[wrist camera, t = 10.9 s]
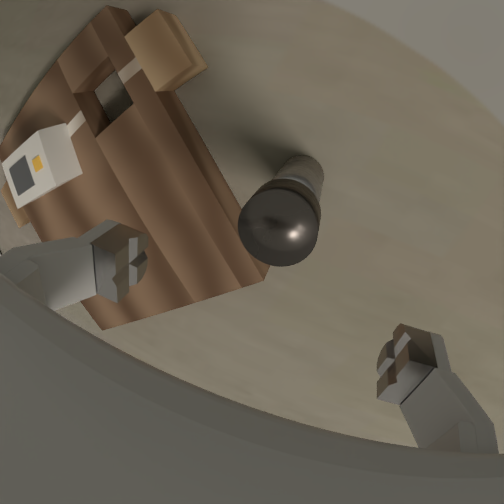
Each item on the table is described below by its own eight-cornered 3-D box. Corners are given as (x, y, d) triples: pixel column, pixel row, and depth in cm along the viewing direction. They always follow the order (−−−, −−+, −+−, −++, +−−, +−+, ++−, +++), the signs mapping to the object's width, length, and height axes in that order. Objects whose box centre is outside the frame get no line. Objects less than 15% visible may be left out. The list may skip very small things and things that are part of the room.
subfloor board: (101, 321, 33) (89, 334, 31) (5, 159, 27) (-11, 166, 24) (307, 249, 22) (303, 267, 20) (156, -14, 15) (137, -22, 13)
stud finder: (40, 196, 24) (16, 209, 21) (25, 154, 22) (0, 164, 19) (82, 173, 21) (55, 186, 19) (65, 122, 20) (36, 130, 17)
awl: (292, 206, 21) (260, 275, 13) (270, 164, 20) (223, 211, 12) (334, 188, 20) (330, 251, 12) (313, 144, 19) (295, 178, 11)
